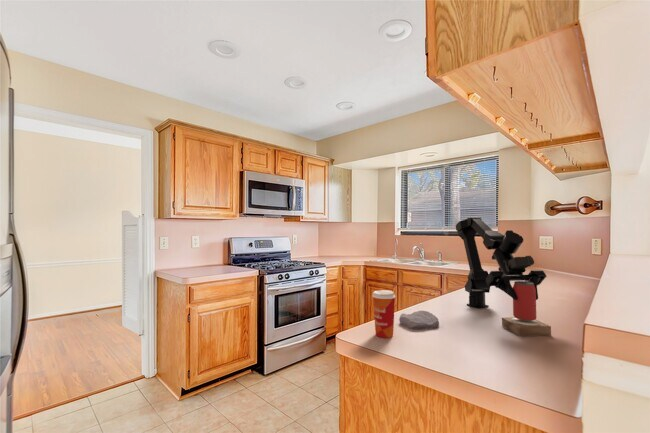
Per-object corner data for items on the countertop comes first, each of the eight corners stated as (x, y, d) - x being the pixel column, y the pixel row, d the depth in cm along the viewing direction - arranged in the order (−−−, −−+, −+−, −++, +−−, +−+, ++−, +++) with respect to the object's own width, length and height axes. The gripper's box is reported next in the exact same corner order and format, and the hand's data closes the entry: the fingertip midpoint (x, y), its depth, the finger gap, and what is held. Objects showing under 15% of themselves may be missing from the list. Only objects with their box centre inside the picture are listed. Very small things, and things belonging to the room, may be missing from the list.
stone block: (442, 332, 110) (424, 318, 119) (443, 319, 109) (425, 307, 118) (413, 337, 106) (397, 323, 115) (414, 324, 105) (398, 311, 114)
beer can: (523, 321, 101) (522, 284, 101) (508, 315, 108) (507, 281, 108) (541, 320, 102) (540, 284, 102) (526, 315, 108) (525, 280, 109)
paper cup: (368, 333, 104) (367, 290, 104) (387, 329, 107) (387, 289, 107) (380, 340, 97) (380, 295, 97) (401, 337, 100) (400, 293, 100)
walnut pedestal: (502, 326, 109) (501, 317, 109) (530, 325, 109) (530, 316, 110) (520, 336, 99) (519, 326, 99) (551, 335, 99) (550, 325, 100)
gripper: (489, 248, 109) (508, 286, 98) (542, 247, 109) (567, 285, 98) (478, 267, 117) (495, 304, 106) (527, 266, 117) (550, 303, 106)
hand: (526, 299), depth 103 cm, fingers closed on beer can, 6 cm apart
